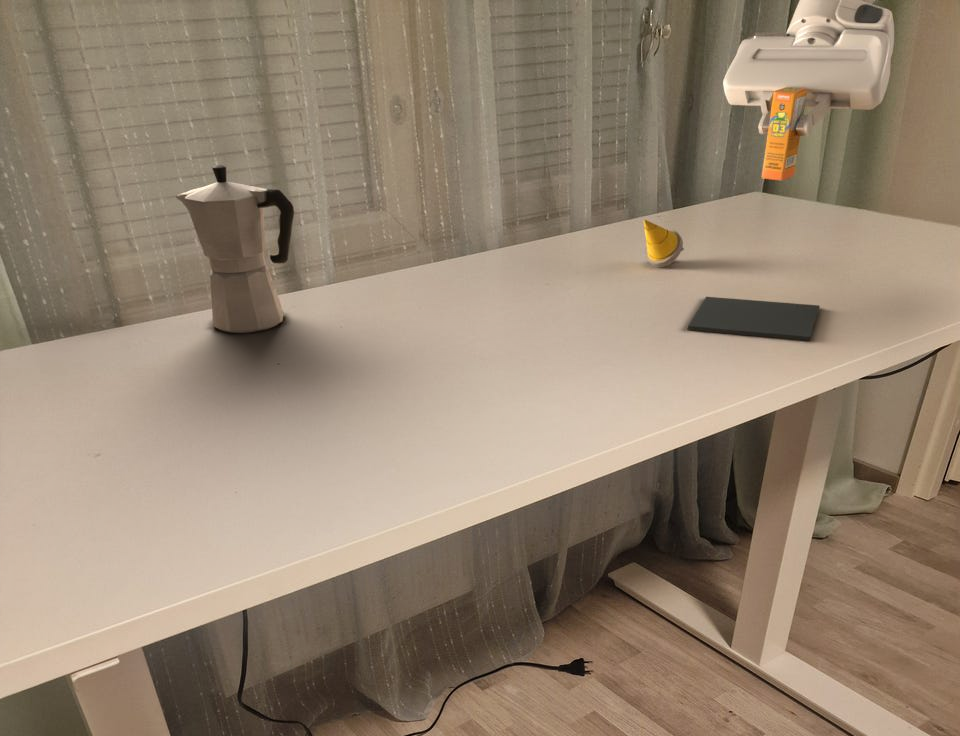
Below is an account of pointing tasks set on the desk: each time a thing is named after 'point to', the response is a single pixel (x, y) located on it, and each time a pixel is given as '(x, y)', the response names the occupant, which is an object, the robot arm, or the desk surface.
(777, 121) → the supplement box
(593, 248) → the desk surface
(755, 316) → the mat
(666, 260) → the yellow cone on disc
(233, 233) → the coffeepot
